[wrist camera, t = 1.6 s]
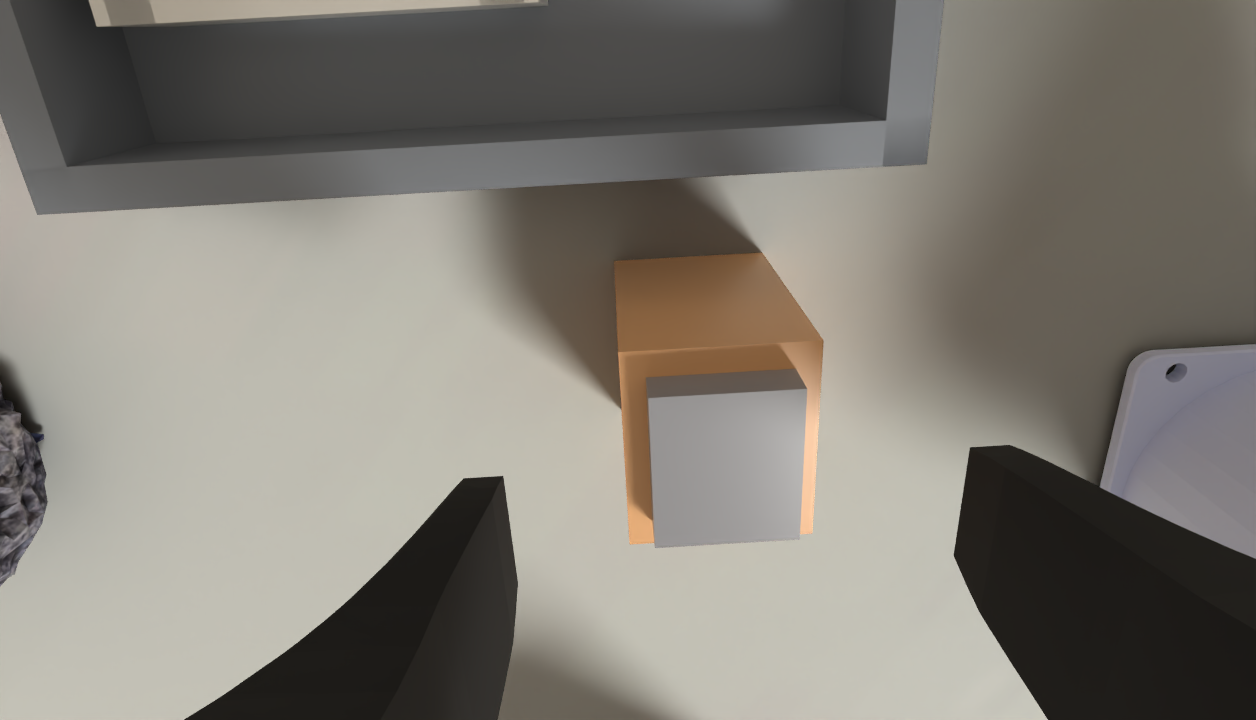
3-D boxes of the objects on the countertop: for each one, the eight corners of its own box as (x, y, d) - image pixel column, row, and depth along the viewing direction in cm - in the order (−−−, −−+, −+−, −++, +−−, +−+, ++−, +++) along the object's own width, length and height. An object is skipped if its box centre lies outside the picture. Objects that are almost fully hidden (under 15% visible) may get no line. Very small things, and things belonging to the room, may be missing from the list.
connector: (762, 252, 18) (836, 359, 12) (758, 403, 20) (823, 560, 14) (614, 260, 18) (619, 371, 12) (623, 410, 20) (631, 571, 14)
